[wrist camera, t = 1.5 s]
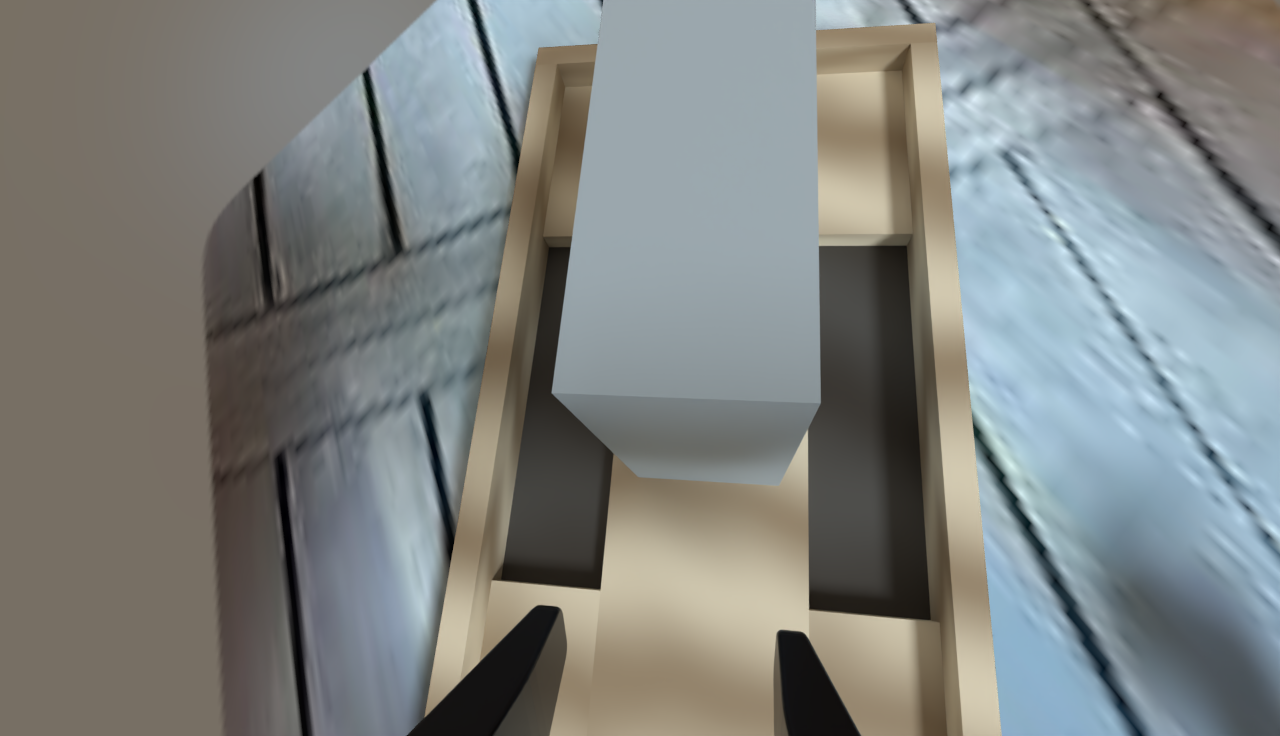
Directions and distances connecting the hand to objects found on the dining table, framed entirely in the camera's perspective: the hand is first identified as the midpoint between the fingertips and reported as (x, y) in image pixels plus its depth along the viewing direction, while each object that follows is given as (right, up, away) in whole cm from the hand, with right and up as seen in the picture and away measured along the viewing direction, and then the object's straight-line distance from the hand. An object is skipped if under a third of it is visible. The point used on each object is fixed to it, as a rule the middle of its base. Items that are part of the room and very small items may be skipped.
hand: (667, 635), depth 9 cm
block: (+2, +5, +14) cm, 15 cm away
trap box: (+2, +4, +14) cm, 15 cm away
